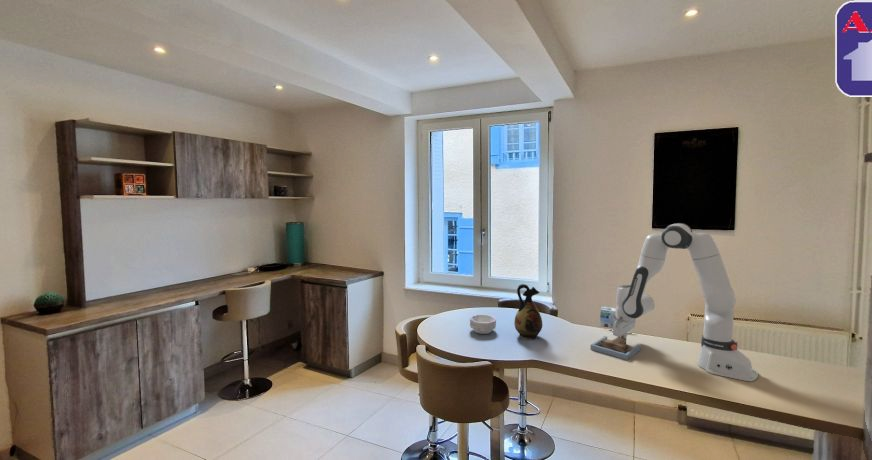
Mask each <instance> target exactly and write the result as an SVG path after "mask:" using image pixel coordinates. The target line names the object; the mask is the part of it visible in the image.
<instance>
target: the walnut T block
mask: <svg viewBox="0 0 872 460" xmlns="http://www.w3.org/2000/svg"><path fill="white" fill-rule="evenodd" d="M600 347H603V348H607V349H610V350H614V351H617V352H621V353H624V354H626V353H627V352H629V344H627V337H626V338H623V337H621V336H620V337H617V336H616V338H614V339H608V338H607V339H603V340H601V345H600Z"/></svg>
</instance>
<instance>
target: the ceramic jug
mask: <svg viewBox="0 0 872 460" xmlns="http://www.w3.org/2000/svg"><path fill="white" fill-rule="evenodd" d="M521 289H525V290H524V292H523V293H522V295H521ZM516 294H517V296H518V300H519V305H518V306H519V307H518V310H517V312H516V314H515V317H514V323H513V324H514V328H515V330H516V331H517V333H518V334H519V335H518V336H519V337H520V338H522V339H525V340H536V339H537V338H538V335H539V334H540V332H541V331H542V329H543V319H542V316H541V313H540V311H539V309H538V308H537V306H536V305H535V303H534V302H533V299H532V298H533V296H535V295H538V294H540V291H538V290H537V289H536V287H534V286H532V287H531V288H530V287H529V286H528V285H527V284H525V283H522V284H519V285H518V286H517V289H516ZM522 296H524V297H525V299H524V300H523V297H522Z"/></svg>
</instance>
